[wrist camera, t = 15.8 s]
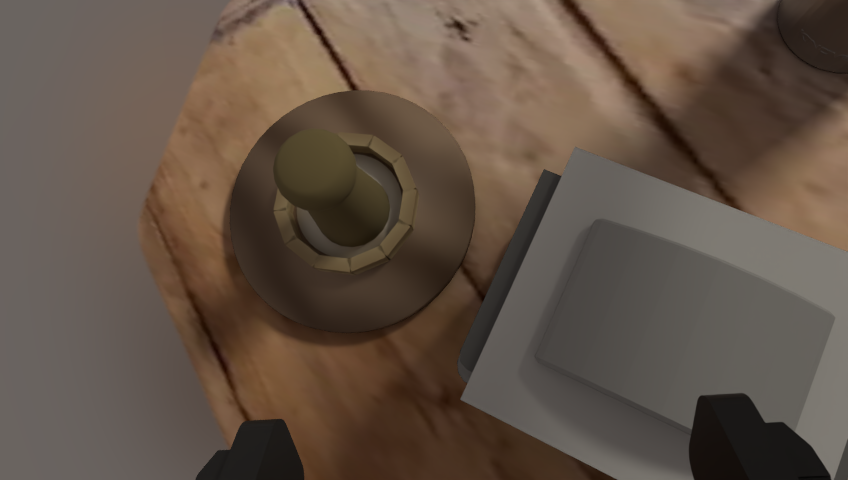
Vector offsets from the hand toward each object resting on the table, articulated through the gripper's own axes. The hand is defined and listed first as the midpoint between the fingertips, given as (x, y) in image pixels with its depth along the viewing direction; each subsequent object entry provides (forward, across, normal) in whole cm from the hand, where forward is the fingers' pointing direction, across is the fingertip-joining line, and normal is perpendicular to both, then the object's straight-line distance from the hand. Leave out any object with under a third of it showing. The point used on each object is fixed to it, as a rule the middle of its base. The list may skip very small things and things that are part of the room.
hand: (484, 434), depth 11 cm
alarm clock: (+23, -8, +20) cm, 32 cm away
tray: (+32, +10, +12) cm, 35 cm away
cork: (+31, +10, +11) cm, 34 cm away
